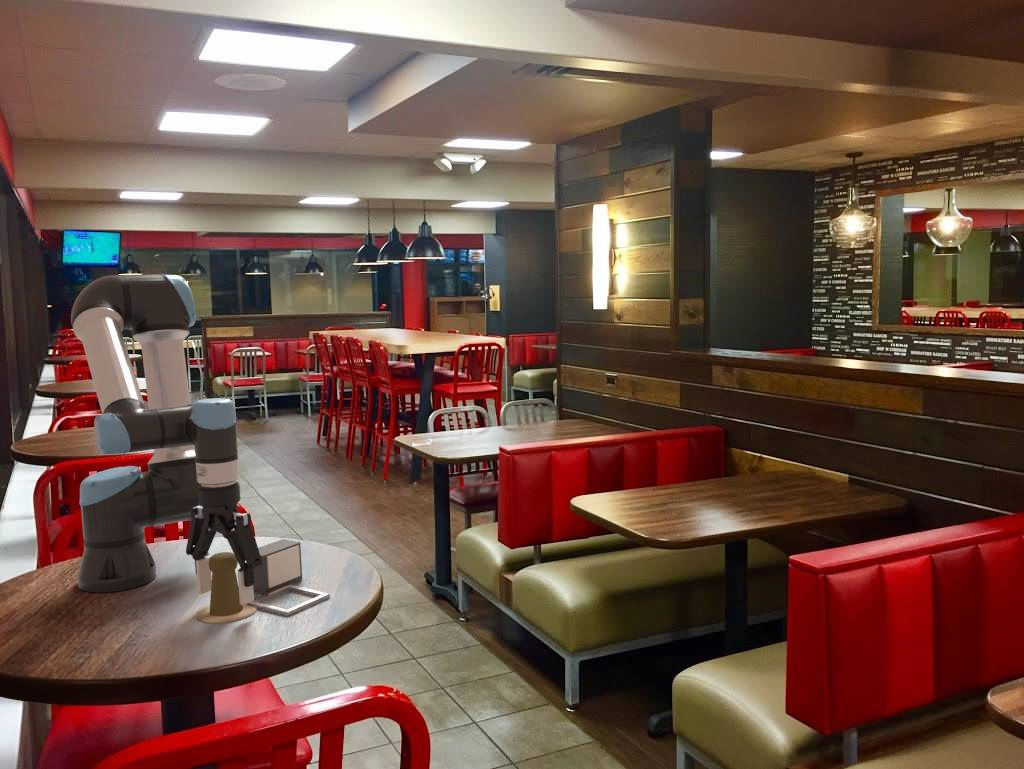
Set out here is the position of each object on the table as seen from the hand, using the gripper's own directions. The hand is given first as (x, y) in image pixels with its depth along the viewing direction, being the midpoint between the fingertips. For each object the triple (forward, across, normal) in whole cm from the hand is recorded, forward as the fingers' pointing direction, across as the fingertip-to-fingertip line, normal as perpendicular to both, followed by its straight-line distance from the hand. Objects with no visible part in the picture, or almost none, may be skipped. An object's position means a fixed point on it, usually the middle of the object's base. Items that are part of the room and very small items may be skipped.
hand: (225, 597), depth 166 cm
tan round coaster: (+3, 0, 0) cm, 3 cm away
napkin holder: (+3, -3, +15) cm, 16 cm away
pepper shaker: (+3, 0, 0) cm, 3 cm away
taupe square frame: (+3, +6, +10) cm, 12 cm away
